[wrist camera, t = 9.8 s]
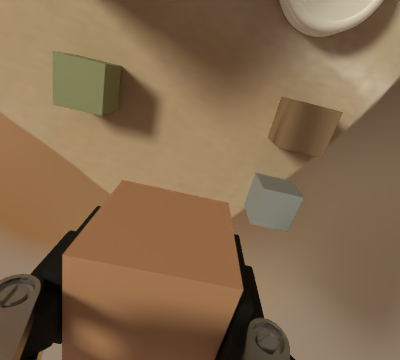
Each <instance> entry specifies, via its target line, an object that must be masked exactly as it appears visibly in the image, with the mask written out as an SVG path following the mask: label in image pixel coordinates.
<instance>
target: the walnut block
mask: <svg viewBox="0 0 400 360" xmlns="http://www.w3.org/2000/svg"><path fill="white" fill-rule="evenodd" d="M342 113H343V112H340V111H336V110H332V109H328V108H324V107H320V106H317V105H313V104H309V103H305V102H301V101H297V100H293V99H289V98H285V97H282V98H281V101H280V104H279V107H278V109H277V112H276V115H275V118H274V121H273V124H272V127H271V130H270V132H269V135H268V138H269V139H270V140H271V141H272V142H273V143H274V144H275V145H276V146H277V147H278V148H282V149H286V150H290V151H294V152H299V153H303V154H307V155H311V156H316V157H320V158H322V157H323V155H324V153H325V150H326V148H327V146H328V144H329V142H330V139H331V137H332V135H333V133H334V131H335V128H336V126H337V124H338V122H339V120H340V117H341V115H342Z"/></svg>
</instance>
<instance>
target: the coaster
mask: <svg viewBox="0 0 400 360" xmlns="http://www.w3.org/2000/svg"><path fill="white" fill-rule="evenodd" d="M383 1H384V0H280V5H281V8H282V11H283V13H284V15H285V17H286V18H287V20H288V22H289V23H290V24H291V25H292V26H293V27H294V28H295V29H296V30H298V31H300V32H301V33H303V34H306V35H308V36H313V37H325V36H330V35H334V34H337V33H340V32H343V31H346V30H348V29H351V28H353V27H355V26H357V25H358V24H360V23H361V22H363V21H364V20H365V19H367V18H368V17H369V16H370V15H371V14H372V13H373V12H374V11H375V10H376V9H377V8H378V7H379V6H380V5H381V3H382V2H383Z"/></svg>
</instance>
